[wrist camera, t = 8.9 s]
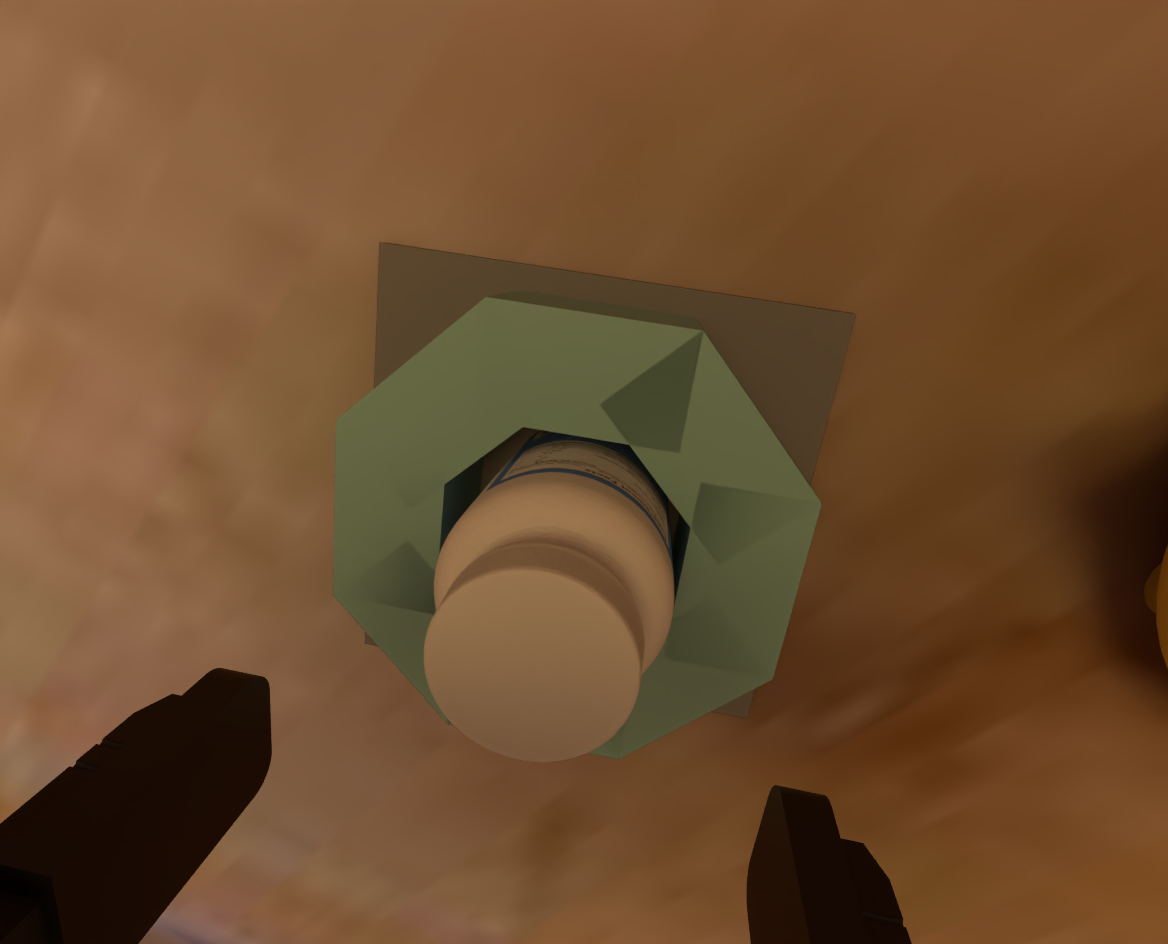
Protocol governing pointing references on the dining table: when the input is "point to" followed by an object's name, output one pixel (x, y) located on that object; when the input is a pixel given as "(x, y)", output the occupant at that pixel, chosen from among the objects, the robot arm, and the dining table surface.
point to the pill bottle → (552, 599)
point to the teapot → (1159, 601)
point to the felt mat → (733, 323)
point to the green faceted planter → (593, 410)
